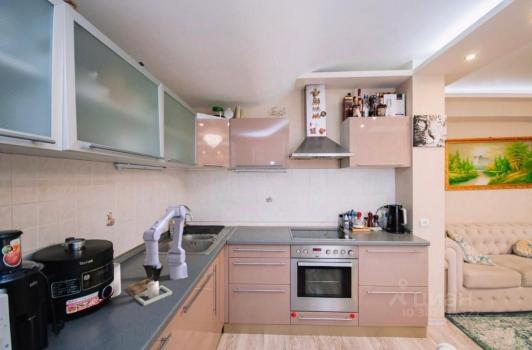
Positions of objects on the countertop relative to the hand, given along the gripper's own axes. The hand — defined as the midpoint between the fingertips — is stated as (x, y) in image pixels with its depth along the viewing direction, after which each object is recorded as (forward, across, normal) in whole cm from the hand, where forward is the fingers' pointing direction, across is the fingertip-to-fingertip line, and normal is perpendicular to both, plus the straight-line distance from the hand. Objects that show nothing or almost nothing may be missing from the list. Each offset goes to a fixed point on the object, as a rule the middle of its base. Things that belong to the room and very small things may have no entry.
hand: (153, 279), depth 122 cm
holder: (+9, -12, 0) cm, 16 cm away
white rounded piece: (+8, +1, 0) cm, 9 cm away
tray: (+9, +1, 0) cm, 9 cm away
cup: (+10, -19, -13) cm, 25 cm away
